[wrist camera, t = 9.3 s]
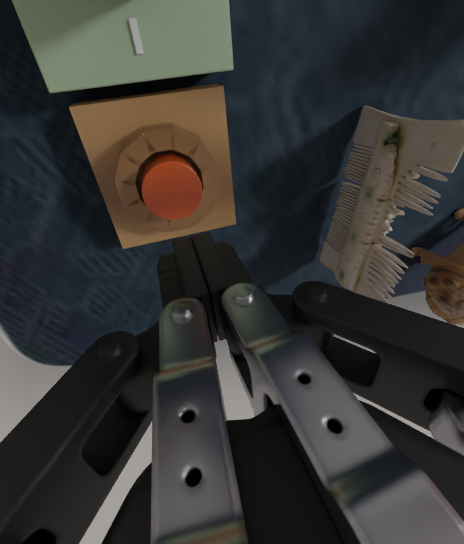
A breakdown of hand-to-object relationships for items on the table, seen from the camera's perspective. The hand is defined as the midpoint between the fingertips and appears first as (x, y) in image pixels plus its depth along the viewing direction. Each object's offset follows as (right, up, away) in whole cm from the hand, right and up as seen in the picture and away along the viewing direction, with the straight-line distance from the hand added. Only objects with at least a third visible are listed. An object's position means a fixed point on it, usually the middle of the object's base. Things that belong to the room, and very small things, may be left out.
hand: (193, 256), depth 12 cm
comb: (+11, +7, +15) cm, 20 cm away
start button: (-2, +5, +7) cm, 9 cm away
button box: (-3, +7, +10) cm, 13 cm away
